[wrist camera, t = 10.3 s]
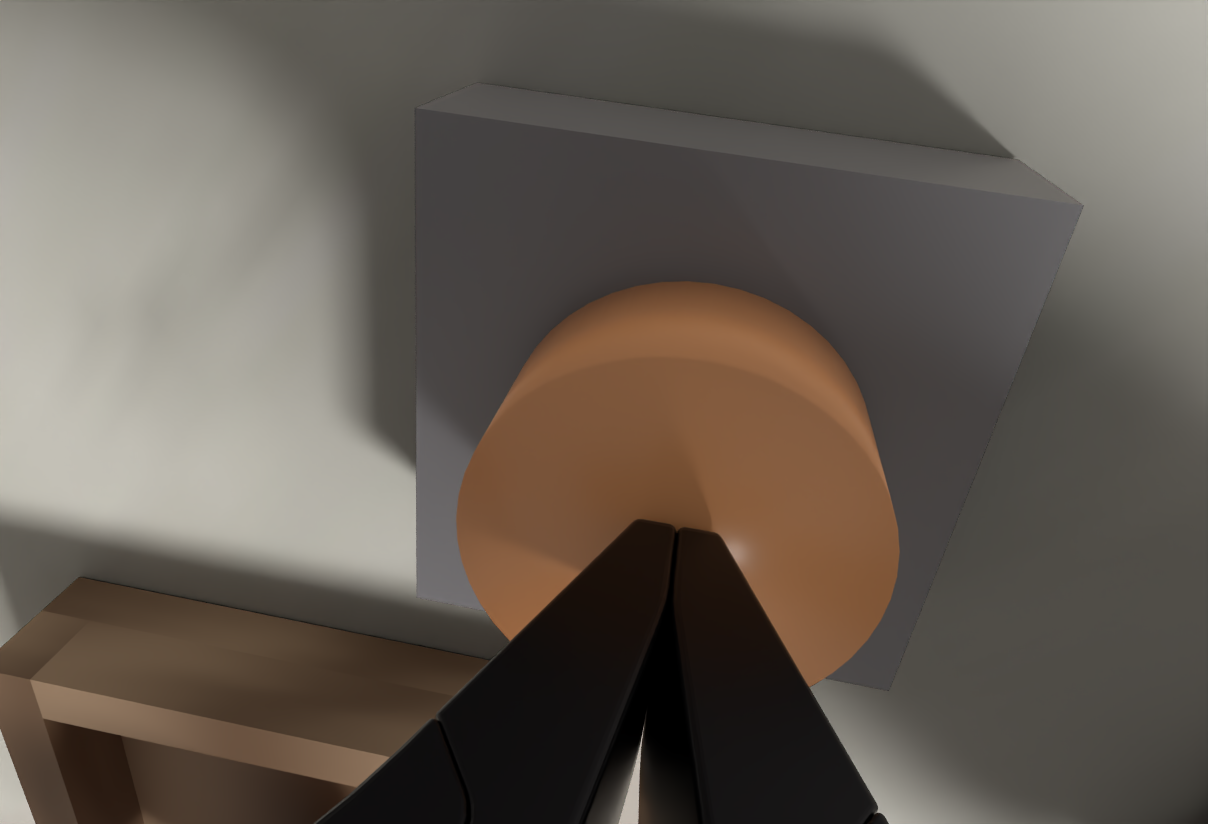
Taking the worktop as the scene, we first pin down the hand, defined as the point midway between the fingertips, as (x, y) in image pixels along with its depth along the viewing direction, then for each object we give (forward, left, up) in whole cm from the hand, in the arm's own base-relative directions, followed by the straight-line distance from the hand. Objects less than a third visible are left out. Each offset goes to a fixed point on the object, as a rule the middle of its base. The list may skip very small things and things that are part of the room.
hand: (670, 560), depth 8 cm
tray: (+6, +12, -5) cm, 15 cm away
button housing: (0, 0, -5) cm, 5 cm away
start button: (0, 0, -2) cm, 2 cm away
